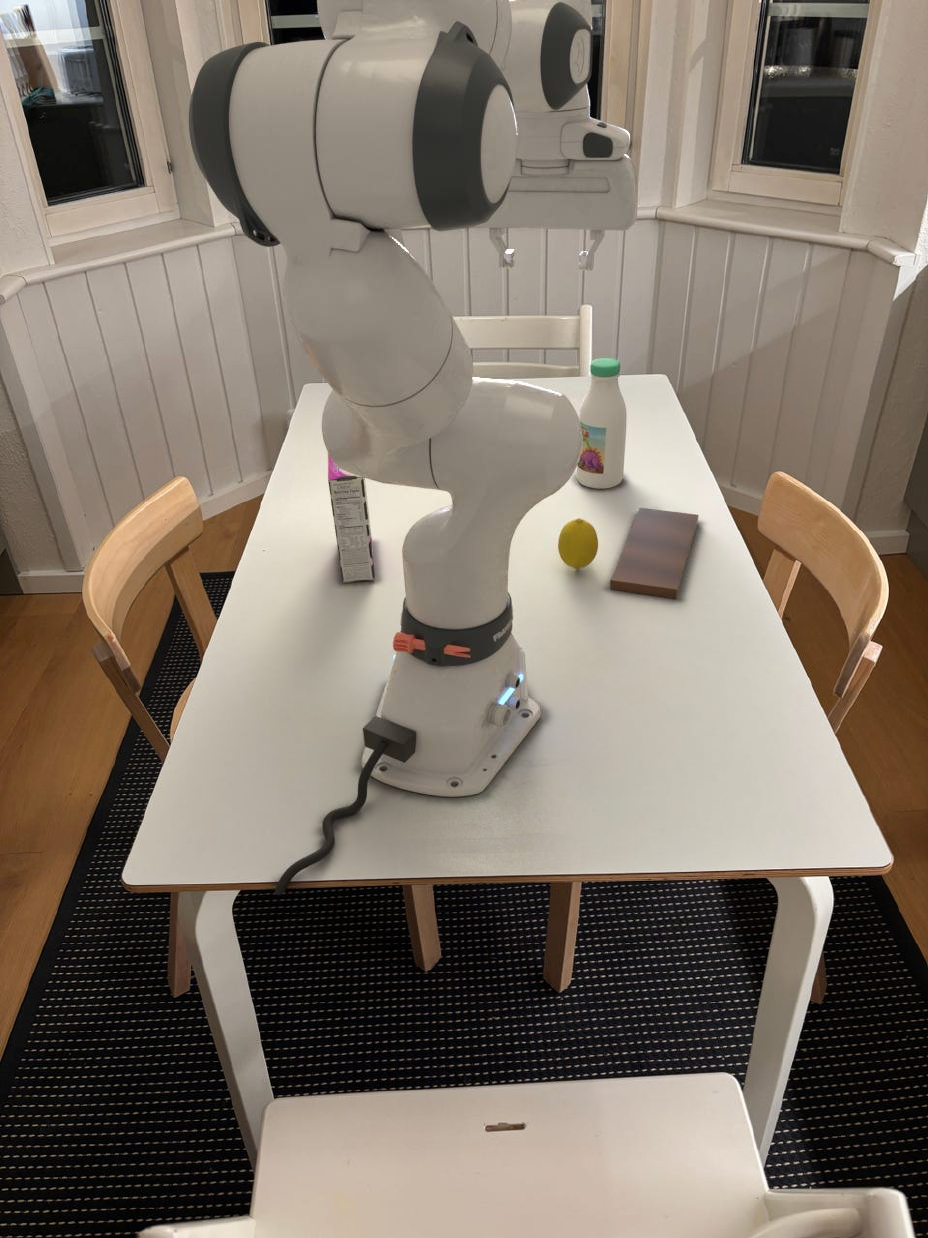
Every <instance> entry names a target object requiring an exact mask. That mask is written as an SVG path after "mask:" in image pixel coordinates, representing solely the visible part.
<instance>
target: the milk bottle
mask: <svg viewBox="0 0 928 1238" xmlns="http://www.w3.org/2000/svg"><path fill="white" fill-rule="evenodd" d="M589 372H590V373H589V376H590V378H591V380H590V384H589V387H588V389H587V392H586V393H585V395H584V397H583V399H582V402H581V405H580V408H579V413H578V417H579V420H580V424H581V428H582V437H583V442H582V451H581V456H580V459H579V462H578V465H577V467H576V469H575V471H576V473H575V474H576V476H575V477H576V479H577V481H578V483H579V484H581V485H583V486H585V487H587V488H591V489H610V488H613V487H614V488H615V487H616V486H619V484H621V482H622V481H623V478H624V472H625V471H624V470H625V456H626V455H625V454H626V442H627V441H626V440H627V439H626V438H627V420H628V419H627V416H628V415H627V414H628V413H627V407H626V402H625V400H624V397H623V395H622V392H621V389H620V384H619V378H620V376H621V374H620V373H621V362H620V361H619V360H618V359H615V358H612V357H611V358H610V357H600V358H596V359H593V360H592V361H591V362H590V367H589Z"/></svg>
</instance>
